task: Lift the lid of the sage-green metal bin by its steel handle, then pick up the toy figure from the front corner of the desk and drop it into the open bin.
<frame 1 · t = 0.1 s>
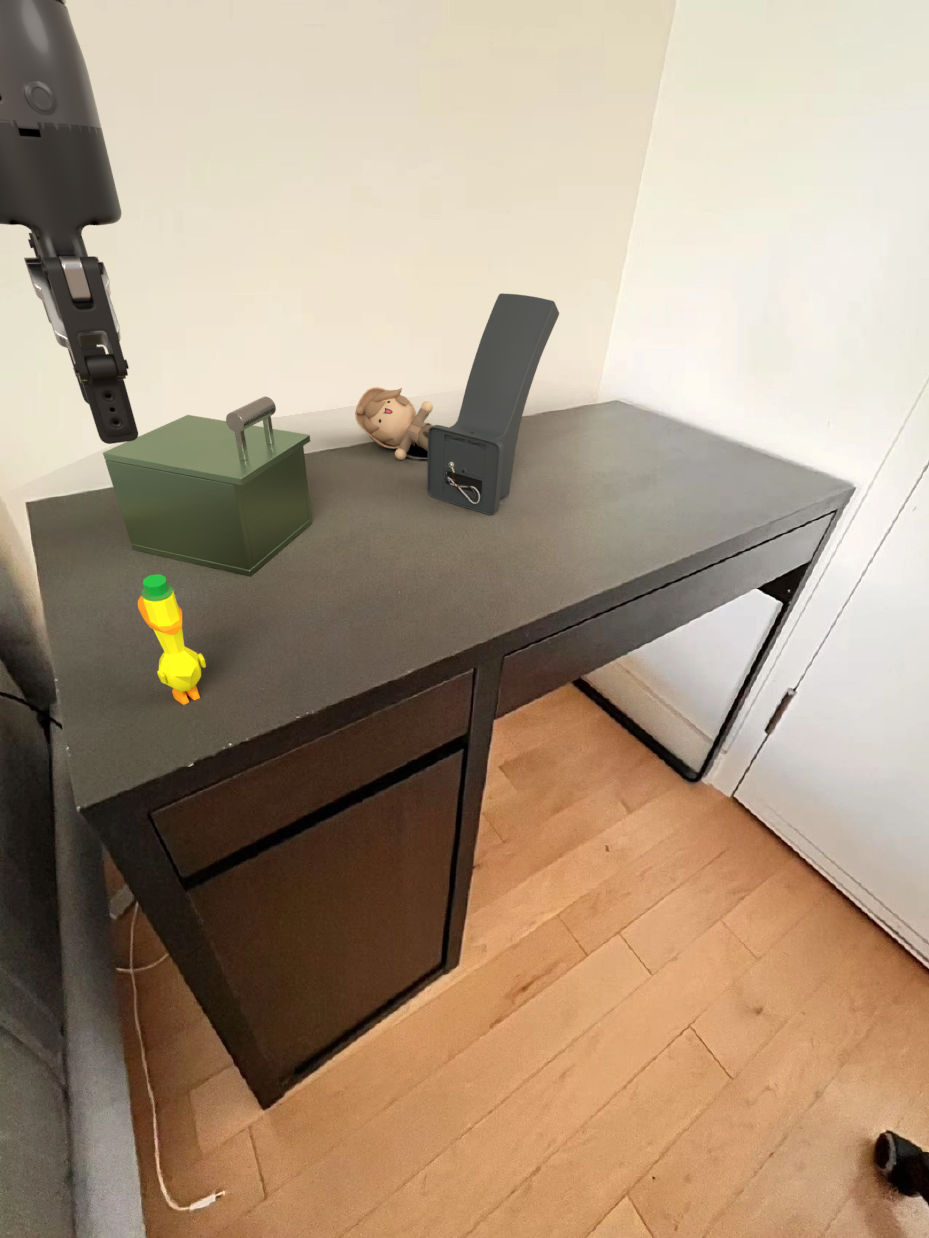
hand: (110, 420, 42), 22 cm above the table, tool pointing down, fingers open, 8 cm apart
bin: (226, 536, 74), on the table
toy figure: (187, 695, 52), on the table
bin lid: (207, 424, 66), point 14 cm above the table, hinge at 0.0°
action figure: (405, 454, 99), on the table
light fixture: (489, 487, 90), on the table
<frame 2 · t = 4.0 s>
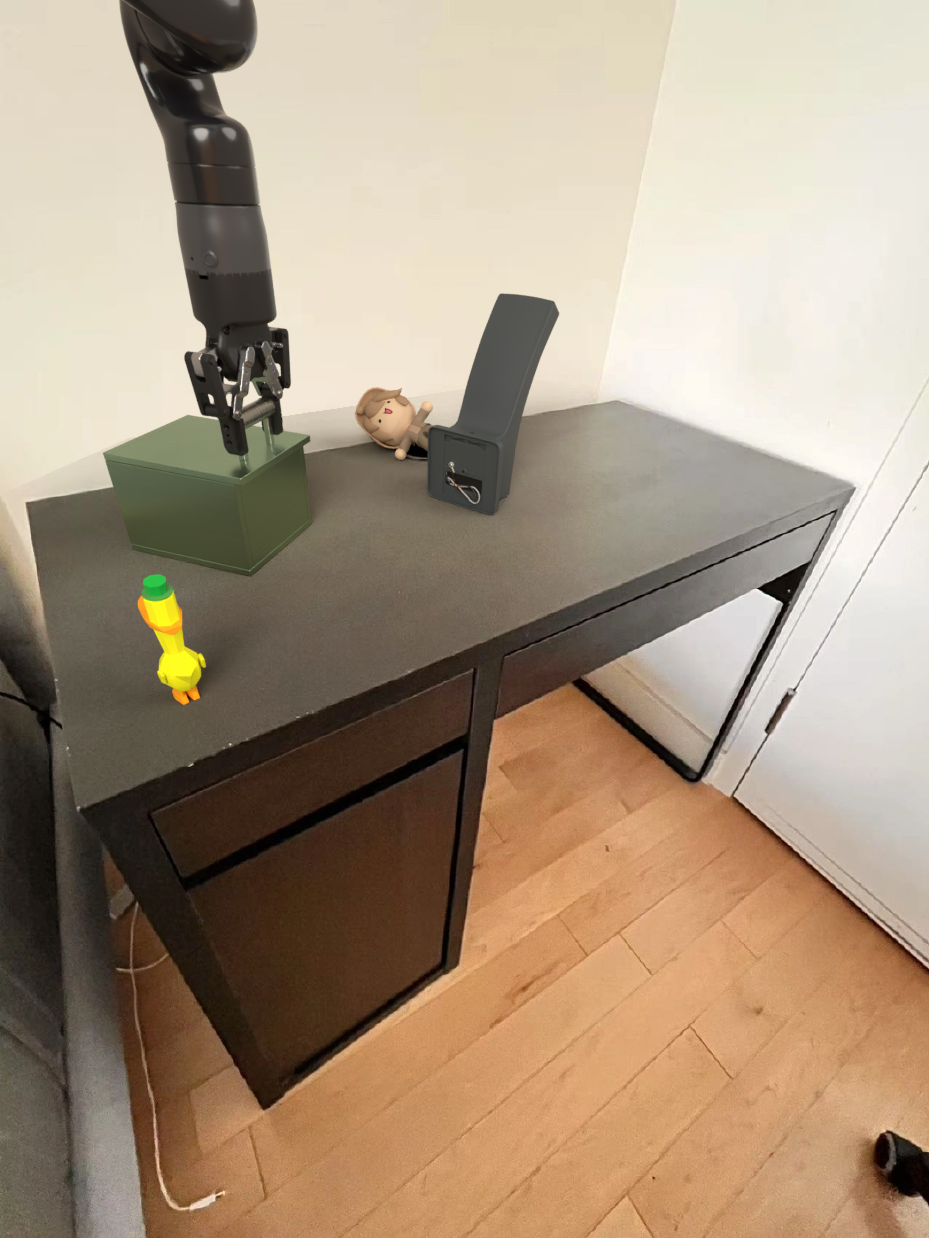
hand: (256, 442, 66), 13 cm above the table, tool pointing down, fingers closed on bin lid, 6 cm apart
bin lid: (207, 424, 66), point 14 cm above the table, hinge at -0.1°, touching gripper
everything else where it was.
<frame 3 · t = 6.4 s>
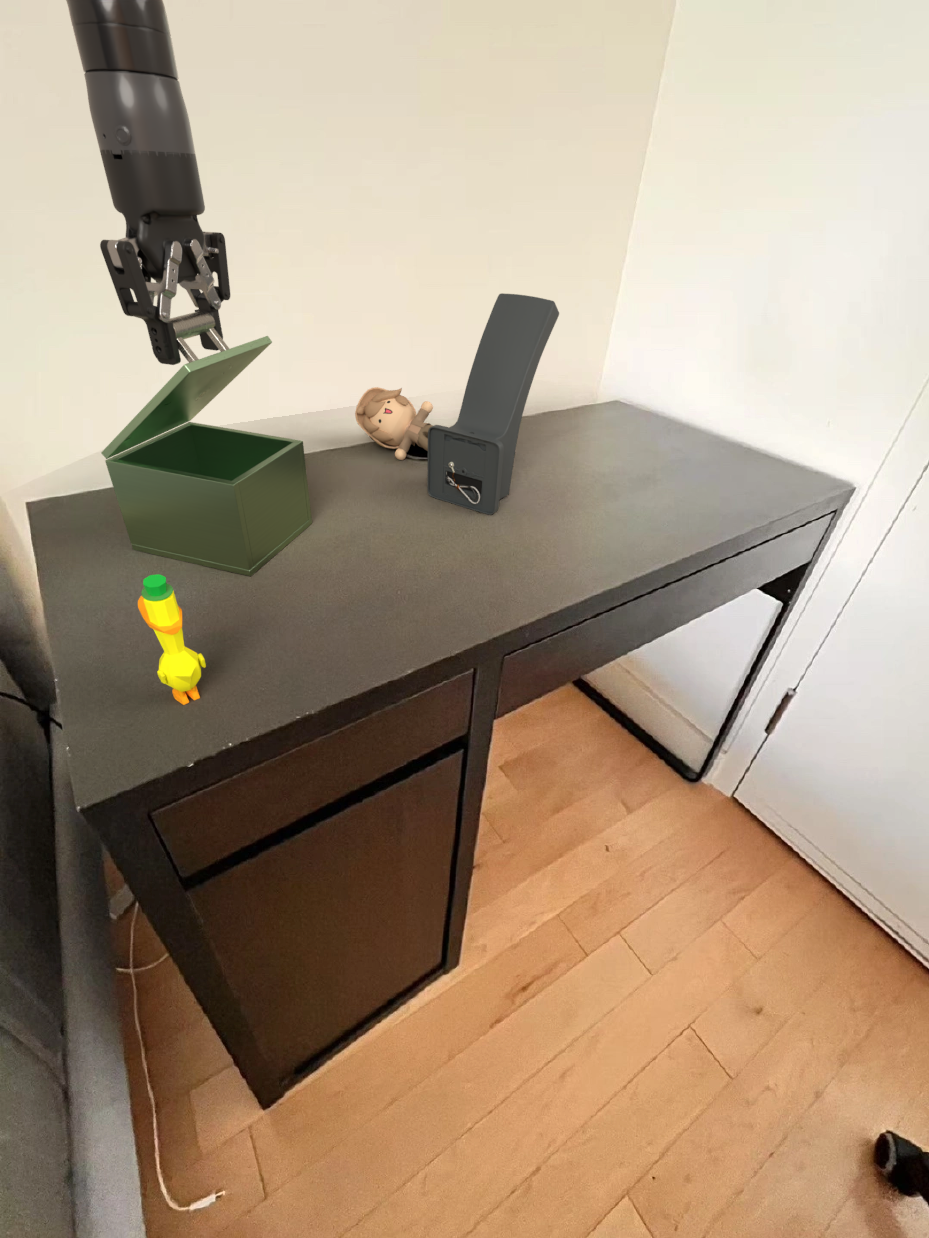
hand: (192, 355, 62), 21 cm above the table, tool pointing down, fingers closed on bin lid, 6 cm apart
bin lid: (171, 375, 64), point 18 cm above the table, hinge at 38.5°, touching gripper
everything else where it was.
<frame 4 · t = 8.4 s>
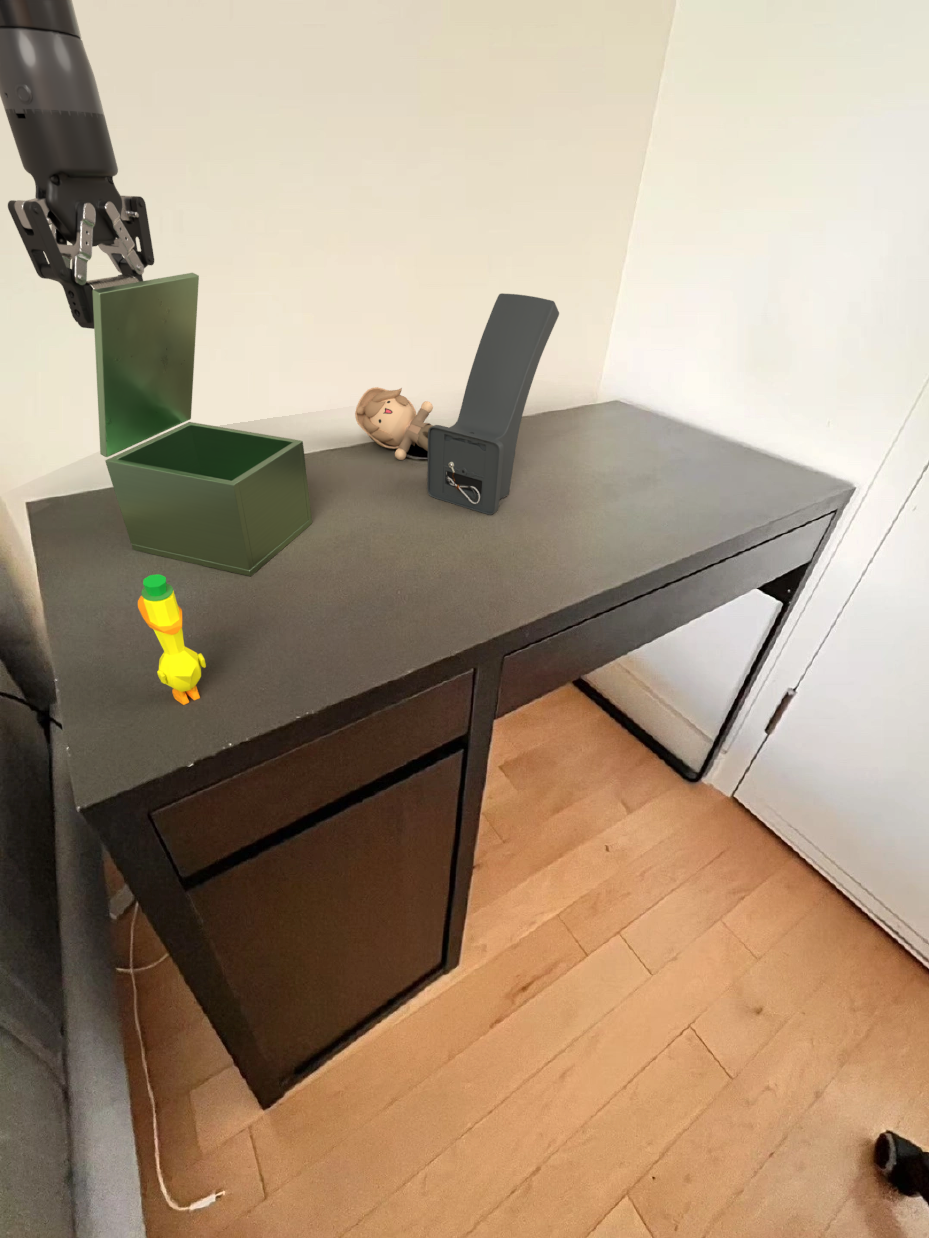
hand: (115, 320, 63), 23 cm above the table, tool pointing down, fingers closed on bin lid, 6 cm apart
bin lid: (128, 354, 64), point 20 cm above the table, hinge at 72.4°, touching gripper
everything else where it was.
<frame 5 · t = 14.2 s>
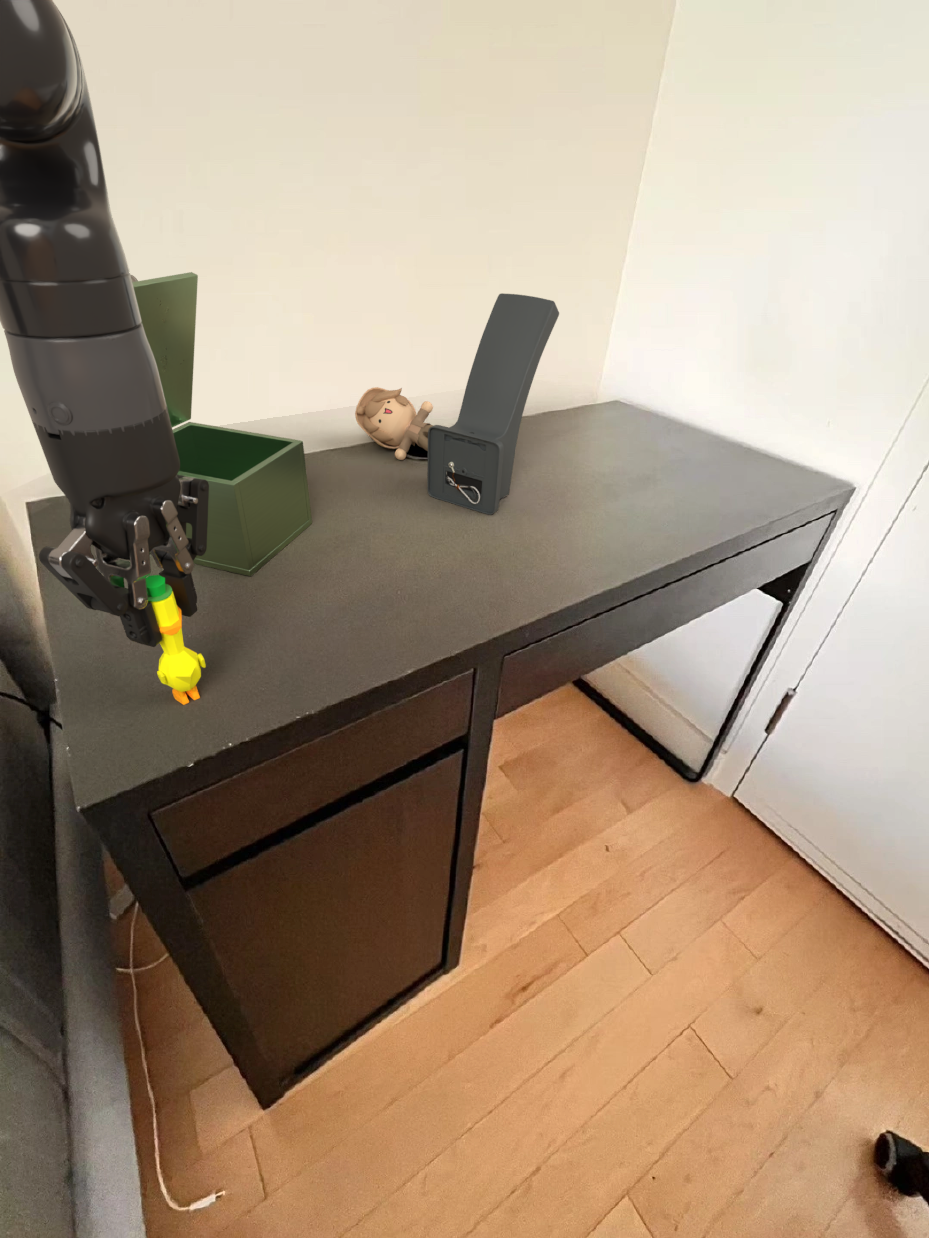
hand: (166, 626, 48), 7 cm above the table, tool pointing down, fingers closed on toy figure, 3 cm apart
toy figure: (187, 695, 52), on the table, touching gripper
bin lid: (128, 354, 64), point 20 cm above the table, hinge at 72.8°
everything else where it was.
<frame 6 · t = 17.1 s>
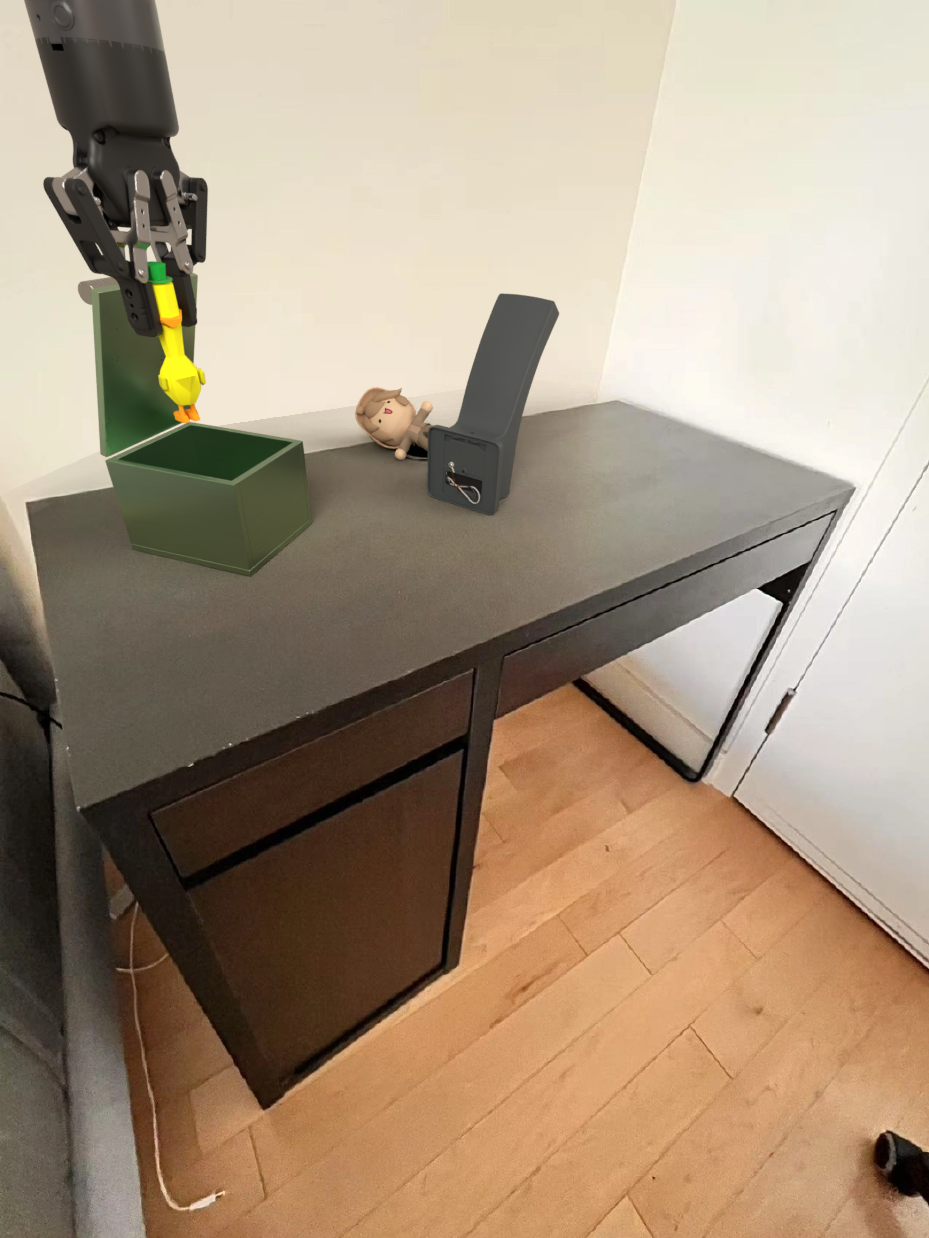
hand: (167, 329, 50), 26 cm above the table, tool pointing down, fingers closed on toy figure, 3 cm apart
toy figure: (188, 420, 54), point 18 cm above the table, touching gripper
everything else where it was.
when the fingers open (17 cm above the table, at t = 20.4 s): toy figure drops 9 cm, resting on bin.
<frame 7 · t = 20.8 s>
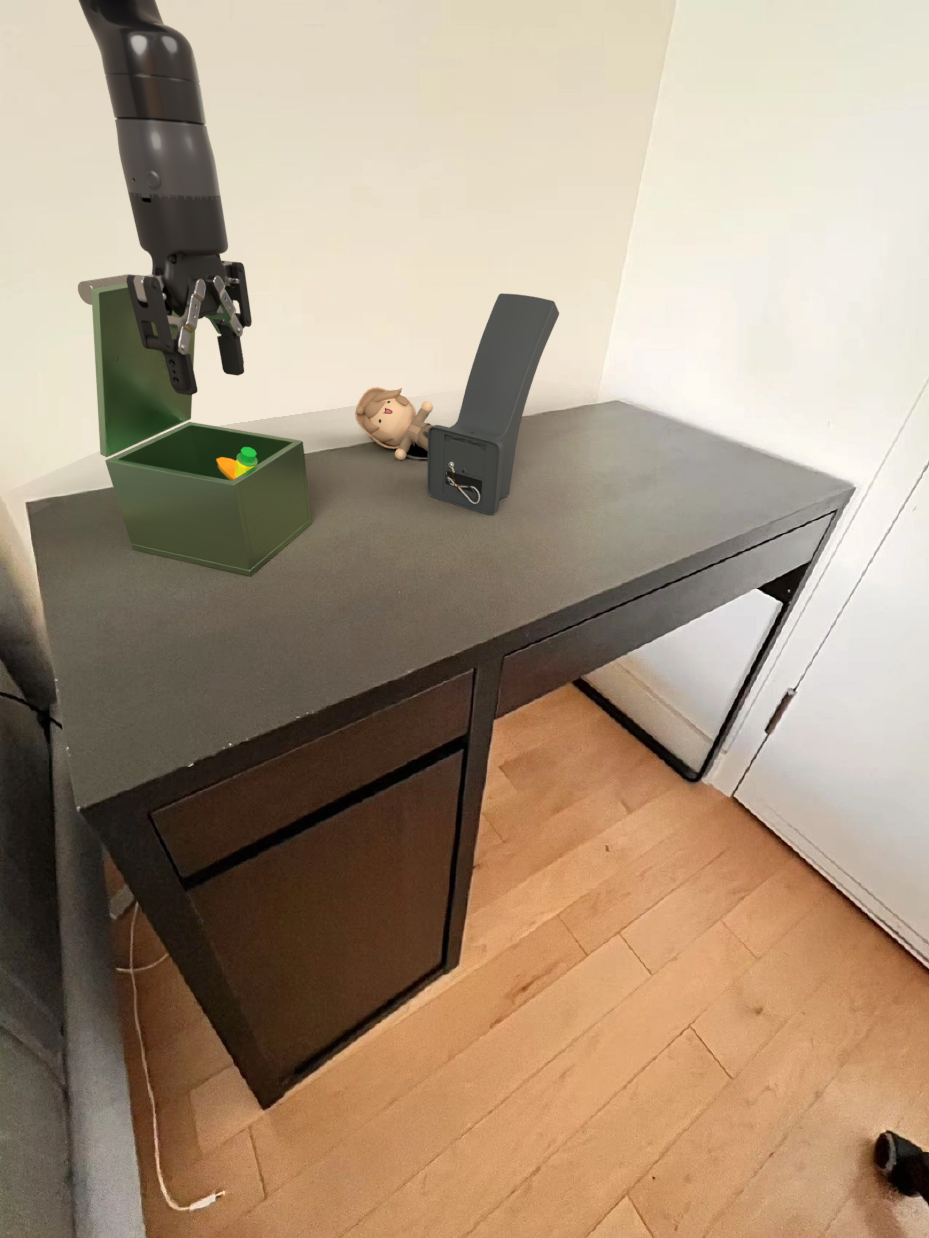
hand: (211, 383, 63), 18 cm above the table, tool pointing down, fingers open, 7 cm apart
toy figure: (235, 534, 73), point 1 cm above the table, touching bin
everything else where it was.
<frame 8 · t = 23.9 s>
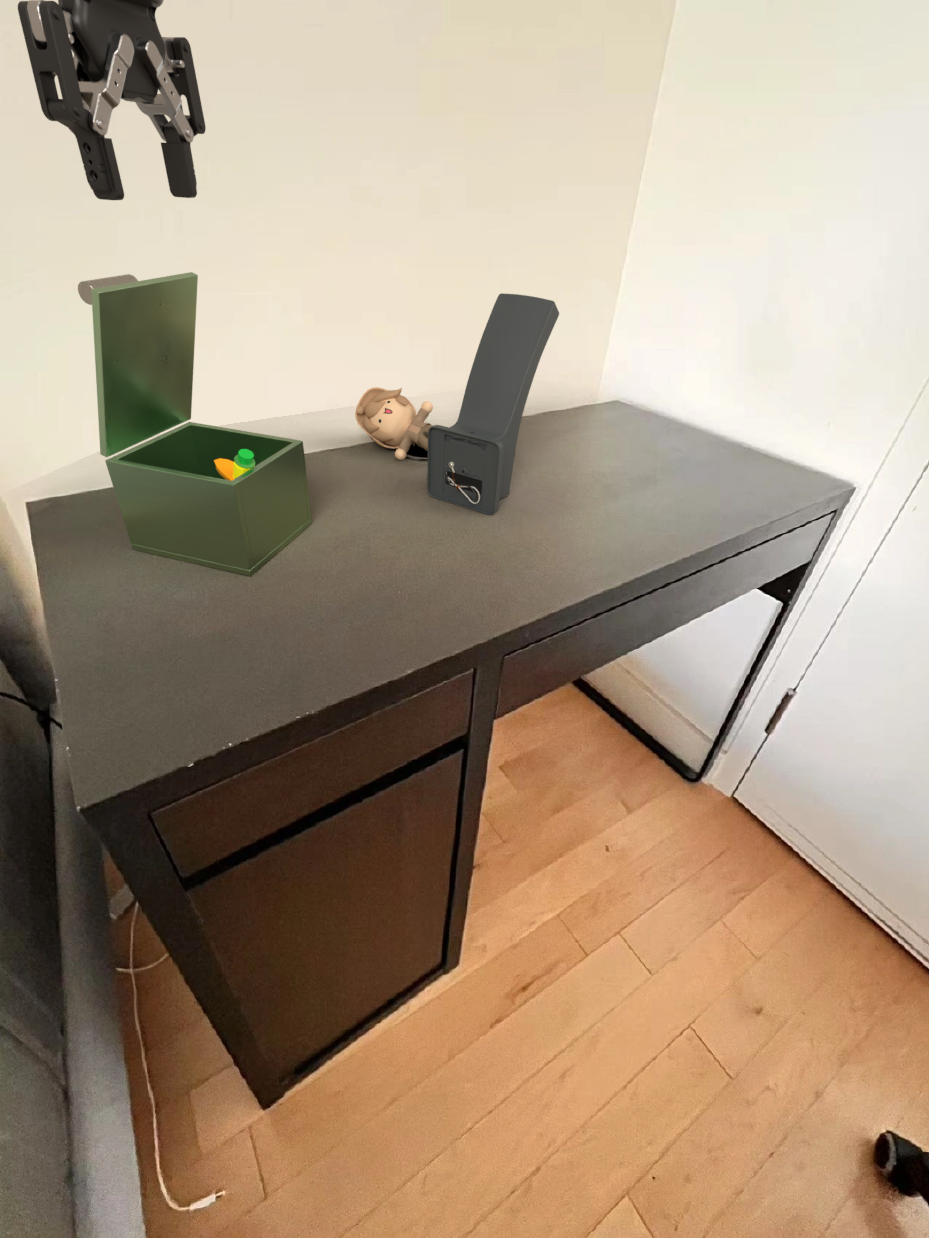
hand: (149, 198, 50), 34 cm above the table, tool pointing down, fingers open, 8 cm apart
nothing on the table moved.
at the end: bin lid at +73° (first picture: +0°); toy figure inside the target area in the bin (2.1 cm from its centre), point 1.0 cm above the bin's base; the gripper is holding nothing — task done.
